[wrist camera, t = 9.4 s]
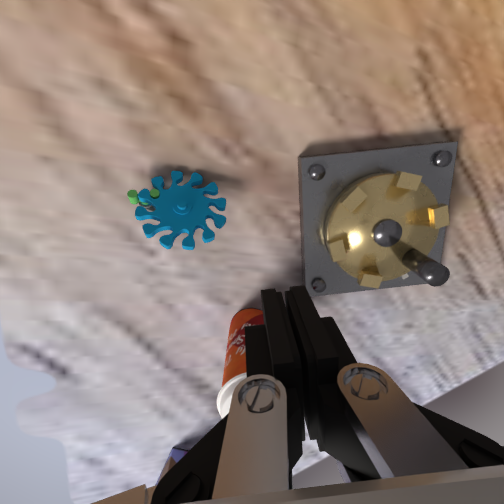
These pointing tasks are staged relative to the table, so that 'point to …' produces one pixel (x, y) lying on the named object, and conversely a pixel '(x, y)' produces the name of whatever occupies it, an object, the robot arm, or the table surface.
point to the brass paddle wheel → (386, 229)
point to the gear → (178, 209)
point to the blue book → (172, 460)
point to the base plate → (341, 176)
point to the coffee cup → (236, 356)
